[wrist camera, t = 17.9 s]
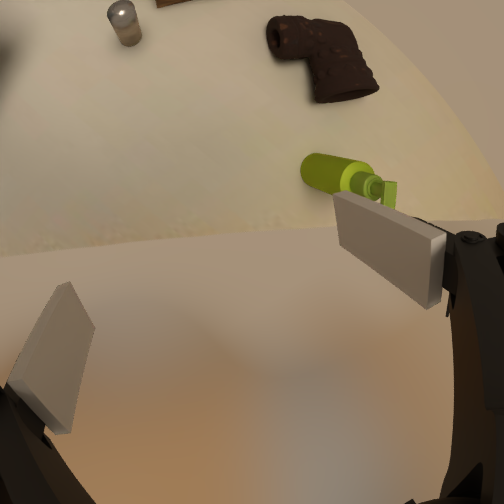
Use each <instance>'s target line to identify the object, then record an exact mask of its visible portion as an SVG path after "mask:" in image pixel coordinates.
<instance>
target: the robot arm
mask: <svg viewBox="0 0 504 504" xmlns="http://www.w3.org/2000/svg"><path fill="white" fill-rule="evenodd" d="M332 195H333V201H334V207H335V214H336V221H337V228H338V236H339V243H340V246H342V247H343V248H344V249H346V250H347V251H349V252H350V253H351V254H353V255H354V256H356V257H357V258H358V259H360V260H361V261H363V262H364V263H365V264H367V265H368V266H369V267H371V268H372V269H373V270H375V271H376V272H377V273H379V274H380V275H381V276H383V277H384V278H385V279H387V280H388V281H389V282H391V283H392V284H393V285H395V286H396V287H398V288H399V289H400V290H401V291H403V292H404V293H405V294H407V295H408V296H409V297H410V298H412V299H413V300H414V301H416V302H417V303H418V304H419V305H421V306H422V307H423V308H424V309H426V310H427V309H429V308H431V307H433V306H434V305H436V304H438V303H439V302H441V296H442V287H443V288H445V289H446V290H447V291H449V299H448V305H447V311H446V317H448V316H449V313H450V320H451V331H452V344H453V363H454V416H453V434H452V446H451V457H450V463H449V467H448V471H447V473H446V476H445V478H444V482H443V485H442V489H441V493H440V497H439V499H433V500H430V501H426V502H422V503H419V504H504V223H500V224H499V225H497V230H496V237H493V238H488V239H487V238H486V237H485V236H484V235H482V234H480V233H478V232H474V231H461V232H459V233H457V234H456V235H455V234H452V233H450V232H448V231H446V230H444V229H442V228H440V227H437V226H434V225H433V224H431V223H427V222H426V221H424V220H422V219H420V218H416V217H411V216H408V215H406V214H404V213H401V212H399V211H397V210H394V209H392V208H390V207H387V206H385V205H382V204H380V203H377V202H375V201H372V200H370V199H367V198H365V197H362V196H360V195H357V194H355V193H352V192H349V191H347V190H344V191H341V192H338V193H334V194H332ZM94 330H95V326H94V325H93V323H92V321H91V320H90V318H89V316H88V314H87V312H86V311H85V309H84V307H83V305H82V303H81V302H80V300H79V298H78V296H77V294H76V292H75V290H74V288H73V286H72V284H71V282H67V283H64V284H62V285H59V286H58V287H57V288H56V290H55V291H54V293H53V295H52V296H51V298H50V300H49V301H48V303H47V305H46V306H45V308H44V310H43V312H42V313H41V315H40V317H39V319H38V321H37V322H36V324H35V326H34V328H33V330H32V332H31V333H30V335H29V337H28V339H27V341H26V343H25V345H24V347H23V349H22V351H21V353H20V354H19V356H18V359H17V360H16V363H15V365H14V367H13V370H12V371H11V373H10V376H9V378H8V380H7V382H6V384H5V387H4V389H2V387H1V386H0V504H96V503H95V502H94V500H93V499H92V498H91V497H90V495H89V494H88V493H87V492H86V490H85V489H84V488H83V487H82V485H81V484H80V483H79V481H78V480H77V479H76V477H75V476H74V475H73V473H72V472H71V470H70V469H69V468H68V466H67V465H66V463H65V462H64V460H63V459H62V457H61V456H60V454H59V453H58V451H57V450H56V448H55V446H54V445H53V443H52V442H51V440H50V439H49V438H48V437H47V436H46V435H45V434H44V428H45V425H46V426H47V427H48V428H49V429H50V430H51V431H52V432H53V433H54V434H55V435H58V434H67V433H71V429H72V424H73V418H74V413H75V408H76V403H77V398H78V393H79V389H80V384H81V379H82V376H83V372H84V367H85V364H86V359H87V356H88V352H89V348H90V344H91V341H92V337H93V334H94ZM405 504H416V503H415V502H414V500H413V499H411V500H410V501H408V502H406V503H405Z"/></svg>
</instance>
